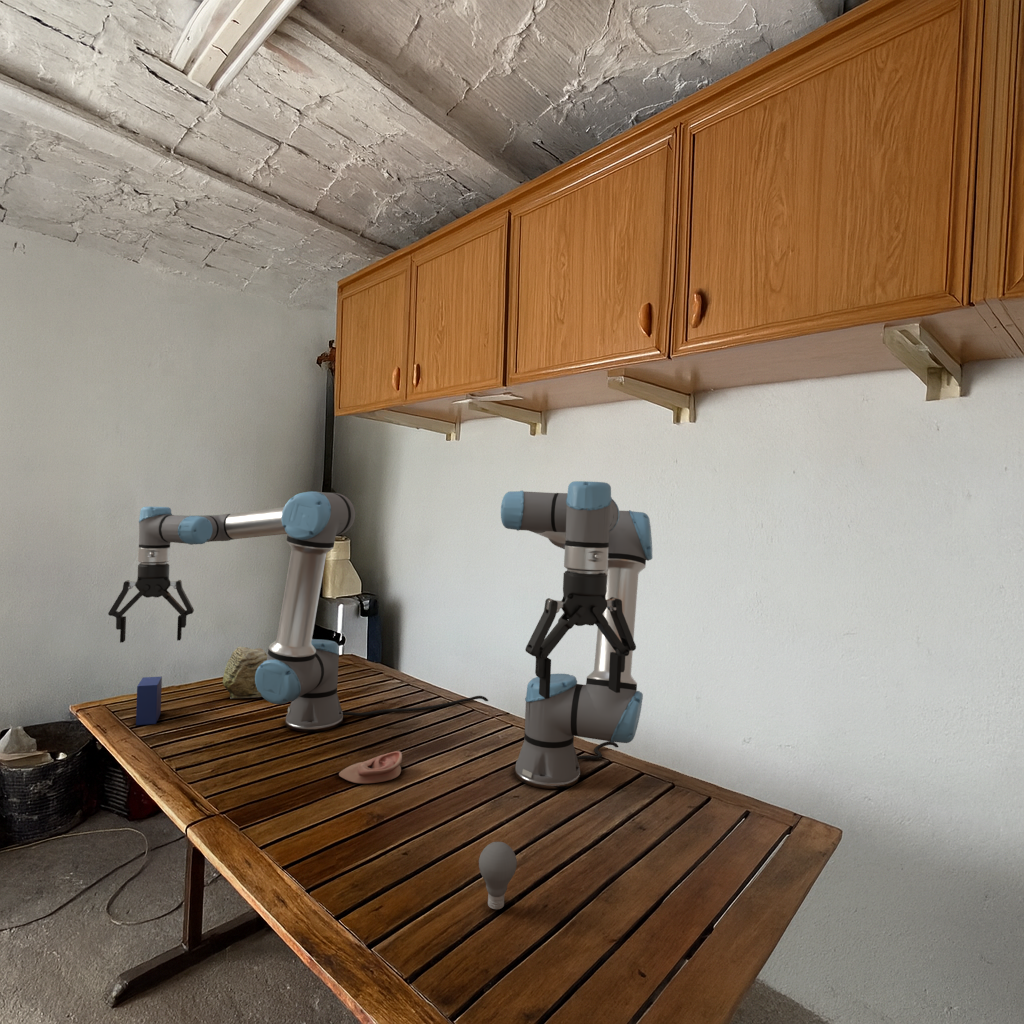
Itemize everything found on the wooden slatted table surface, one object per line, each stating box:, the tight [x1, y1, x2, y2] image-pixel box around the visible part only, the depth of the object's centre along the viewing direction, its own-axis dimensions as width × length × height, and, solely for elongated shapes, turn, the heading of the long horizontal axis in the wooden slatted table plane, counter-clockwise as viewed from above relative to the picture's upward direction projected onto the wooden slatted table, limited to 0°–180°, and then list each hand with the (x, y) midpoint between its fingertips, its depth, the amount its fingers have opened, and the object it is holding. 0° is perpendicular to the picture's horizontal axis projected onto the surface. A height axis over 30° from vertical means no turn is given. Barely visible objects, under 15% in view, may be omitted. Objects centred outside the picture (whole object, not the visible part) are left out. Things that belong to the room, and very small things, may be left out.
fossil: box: [222, 646, 268, 699], centre depth 198 cm, size 9×18×15 cm, turn 132°
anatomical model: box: [338, 750, 403, 784], centre depth 146 cm, size 13×4×12 cm
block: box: [135, 676, 163, 726], centre depth 173 cm, size 8×5×11 cm, turn 22°
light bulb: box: [478, 841, 518, 910], centre depth 100 cm, size 6×6×10 cm
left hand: (151, 640), depth 173 cm, fingers open, 13 cm apart
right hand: (579, 693), depth 110 cm, fingers open, 13 cm apart
